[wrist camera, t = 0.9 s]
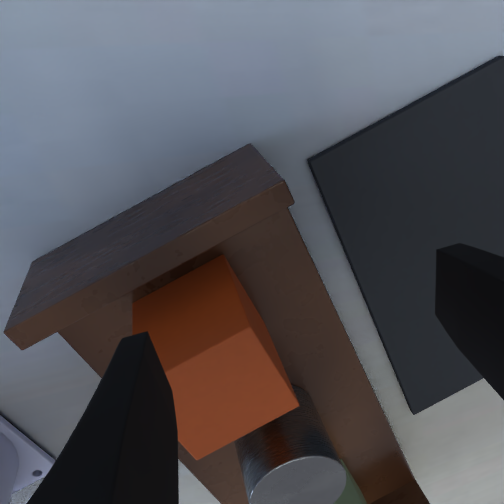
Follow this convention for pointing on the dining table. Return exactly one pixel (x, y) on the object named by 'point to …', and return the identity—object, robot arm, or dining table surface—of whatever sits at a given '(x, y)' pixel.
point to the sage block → (350, 491)
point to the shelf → (257, 288)
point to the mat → (420, 217)
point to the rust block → (214, 357)
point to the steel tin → (291, 459)
